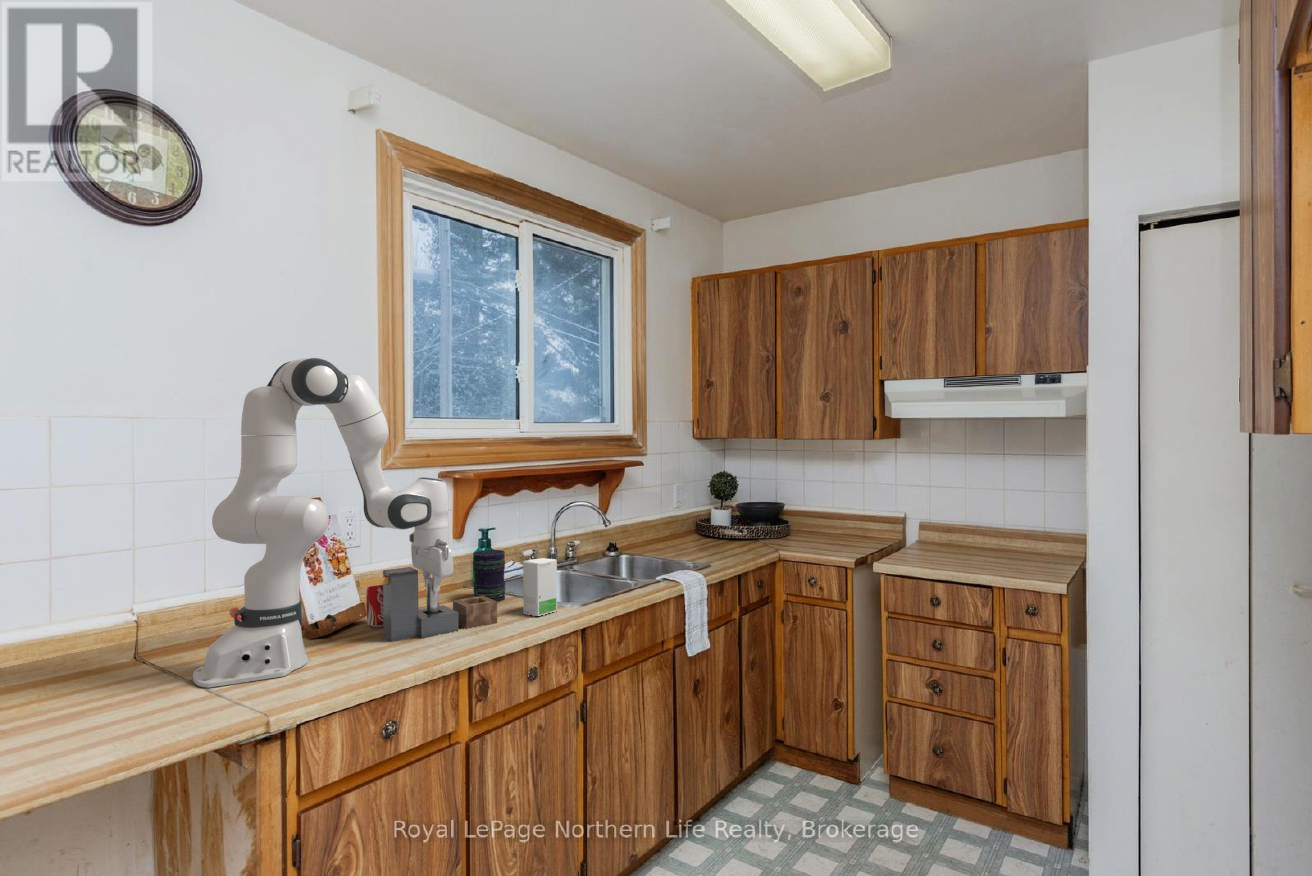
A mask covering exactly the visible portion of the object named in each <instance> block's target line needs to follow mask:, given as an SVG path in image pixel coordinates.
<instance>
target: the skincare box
mask: <svg viewBox="0 0 1312 876" xmlns="http://www.w3.org/2000/svg"><path fill="white" fill-rule="evenodd" d="M557 561H558V560H557V559H554V558H544V557H542V558H541V557H540V558H535V559H534V558H533V559H528V560H523V561H522V566H523V567H522V570H523V571H522V572H523V573H522V574H523V575H522V577H523V578H522V579H523V580H522V581H523V582H522V583H523V585H522V587H523V591H522V592H523V593H522V594H523V602H522V603H523V604H522V605H523V615H525V614H526V616H530V615H532V616H531V617H535V616H540V617H542V616H541V615H543V616H546V615H545V614H547V615H549V614H548V613H551V614H553V613H552V612H555V613H557V612H558V572H557V571H558V562H557ZM556 611H557V612H556Z"/></svg>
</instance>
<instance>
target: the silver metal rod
mask: <svg viewBox="0 0 1312 876" xmlns="http://www.w3.org/2000/svg"><path fill="white" fill-rule="evenodd" d="M432 584H433V576H432V577H431V578H427V579H426V587H425V589H426V591H425V592H426V608H427V615H431V614H436V613H439V606H440V590H439V591H433V590H432Z"/></svg>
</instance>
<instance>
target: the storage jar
mask: <svg viewBox="0 0 1312 876" xmlns="http://www.w3.org/2000/svg"><path fill="white" fill-rule="evenodd" d="M505 554H506V553H505V551H504V550H501V549H500V550H499V549H486V550H477V551H474V552H473V561H472V562H473V563H472V565H473V573H474V576H473V577H474V582H473V584H472V585H473V597H478V596H485V597H487V598H490V599H492V600H495V601H497V603H500V602H503V601H505V600H506V595H505V594H506V581H505V569H506V565H505V564H506V558H505Z"/></svg>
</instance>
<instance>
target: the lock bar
mask: <svg viewBox="0 0 1312 876" xmlns="http://www.w3.org/2000/svg"><path fill="white" fill-rule="evenodd" d="M384 584H389V577H388V576H386V577H383V576H381V577H380V576H379V577H372V578H364V579H358V580H357V579H356V587H358V588H360V589H362V588H368V587H370V586H377V585H384Z"/></svg>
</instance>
